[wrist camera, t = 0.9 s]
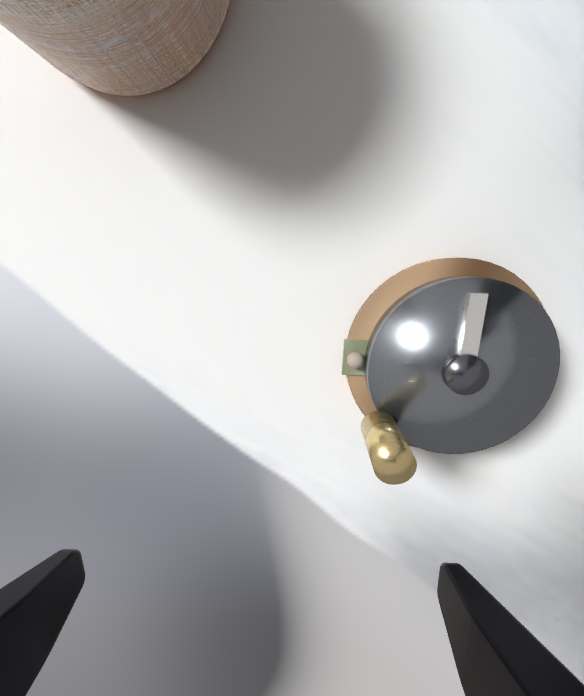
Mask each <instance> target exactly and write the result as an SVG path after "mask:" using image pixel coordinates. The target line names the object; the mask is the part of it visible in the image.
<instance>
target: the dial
mask: <svg viewBox="0 0 584 696" xmlns="http://www.w3.org/2000/svg"><path fill="white" fill-rule="evenodd" d="M559 365H560V349H559V341H558V337H557V333H556V330H555V328H554V325H553V323H552V321H551V319H550V317H549V316H548V314H547V313H546V311H545V310H544V308H543V307H542V306H541V305H540V304H539V303H538V302H537V301H536V300H535V299H534V298H533V297H531V296H530V295H529V294H528V293H526V292H525V291H523V290H521V289H519V288H518V287H516V286H514V285H511V284H508V283H506V282H503V281H499V280H495V279H490V278H480V277H468V276H456V277H446V278H440V279H437V280H433V281H430V282H427V283H425V284H422V285H420V286H418V287H416V288H414V289H412V290H410V291H409V292H407V293H405V294H404V295H403V296H401V297H400V298H399V299H398V300H396V301H395V302H394V303H393V304H392V305H391V306H390V307H389V308H388V309H387V310H386V311H385V313H384V314H383V315H382V316H381V318H380V319H379V321H378V322H377V324H376V326H375V327H374V329H373V331H372V333H371V336H370V338H369V341H368V344H367V347H366V352H365V359H364V374H365V381H366V385H367V389H368V392H369V394H370V396H371V399H372V401H373V403H374V405H375V407H376V410H377V411H373V412H371V413H369V414H367V415H366V416H365V417H364V419H363V420H362V423H361V431H362V434H363V437H364V440H365V444H366V447H367V450H368V453H369V456H370V460H371V463H372V466H373V469H374V472H375V474H376V476H377V477H378V478H379V479H380V480H381V481H383V482H385V483H387V484H401V483H404V482H406V481H408V480H409V479H410V478H411V477H412V476H413V475H414V473H415V471H416V468H417V462H416V459H415V457H414V455H413V453H412V451H411V450H410V448H409V446H408V444H407V442H408V443H410V444H412V445H414V446H416V447H419V448H422V449H425V450H428V451H432V452H437V453H445V454H463V453H471V452H476V451H480V450H484V449H487V448H490V447H493V446H495V445H498V444H500V443H502V442H504V441H506V440H508V439H509V438H511V437H512V436H514V435H516V434H517V433H518V432H520V431H521V430H522V429H524V428H525V427H526V426H527V425H528V424H529V423H530V422H531V421H532V420H533V419H534V418H535V417H536V416H537V415H538V413H539V412H540V411H541V410H542V408H543V407H544V405H545V404H546V402H547V400H548V399H549V397H550V395H551V393H552V390H553V388H554V386H555V382H556V379H557V376H558V371H559ZM406 441H407V442H406Z"/></svg>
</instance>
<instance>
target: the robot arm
mask: <svg viewBox="0 0 584 696" xmlns="http://www.w3.org/2000/svg"><path fill="white" fill-rule="evenodd" d="M84 581H85V571H84V566H83V561H82V557H81V553H80V551H79V550H76V549H63V550H60V551H58V552H57V553H55V554H53V555H52V556H50V557H49V558H47V559H46V560H44V561H43V562H41V563H40V564H38V565H37V566H35V567H33V568H32V569H30V570H29V571H27V572H26V573H24V574H23V575H21V576H20V577H18V578H16V579H15V580H13V581H12V582H10V583H9V584H7V585H6V586H4V587H3V588H1V589H0V696H26V694H27V692H28V690H29V689H30V687H31V685H32V684H33V682H34V680H35V679H36V677H37V675H38V673H39V672H40V670H41V668H42V666H43V664H44V663H45V661H46V659H47V657H48V655H49V653H50V651H51V650H52V648H53V646H54V643H55V642H56V640H57V638H58V635H59V633H60V631H61V629H62V627H63V625H64V623H65V621H66V619H67V617H68V615H69V613H70V611H71V609H72V607H73V605H74V603H75V601H76V599H77V597H78V595H79V593H80V590H81V589H82V587H83V584H84ZM437 592H438V599H439V603H440V607H441V611H442V615H443V618H444V622H445V626H446V629H447V633H448V637H449V641H450V644H451V648H452V651H453V655H454V659H455V662H456V666H457V670H458V673H459V677H460V680H461V684H462V687H463V690H464V693H465V696H584V684H583V683H582V682H581V681H579V680H578V679H577V678H576V677H575V676H574V675H573V674H572V673H571V672H570V671H569V670H568V669H567V668H566V667H565V666H564V665H563V664H562V663H561V662H560V661H559V660H558V659H557V658H556V657H555V656H554V655H553V654H552V653H551V652H550V651H549V650H548V649H547V648H546V647H545V646H544V645H543V644H542V643H541V642H540V641H539V640H537V639H536V638H535V637H534V636H533V635H532V634H531V633H530V632H529V631H528V630H527V629H526V628H525V627H524V626H523V625H522V624H521V623H520V622H519V621H518V620H517V619H516V618H515V617H514V616H513V615H512V614H511V613H510V612H509V611H508V610H507V609H506V608H505V607H504V606H503V605H502V604H501V603H500V602H499V601H498V600H497V599H495V598H494V597H493V596H492V595H491V594H490V593H489V592H488V591H487V590H486V589H485V588H484V587H483V586H482V585H481V584H480V583H479V582H478V581H477V580H476V579H475V578H474V577H473V576H472V575H471V574H470V573H469V572H468V571H467V570H466V569H465V568H464V567H463V566H461V565H460V564H458V563H442V564H441V566H440V572H439V580H438V589H437Z"/></svg>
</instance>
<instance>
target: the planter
mask: <svg viewBox="0 0 584 696" xmlns="http://www.w3.org/2000/svg"><path fill="white" fill-rule="evenodd" d="M229 3H230V0H0V24H1V25H3V26H4V27H5V28H6V29H8V30H9V31H10V32H11V33H13V34H14V35H15V36H16V37H18V38H19V39H20V40H21V41H23V42H24V43H25V44H26V45H27V46H29V47H30V48H31V49H32V50H34V51H35V52H36V53H37V54H39V55H40V56H41V57H43V58H44V59H45V60H46V61H48V62H49V63H50V64H51V65H53V66H54V67H55V68H57V69H58V70H59V71H61V72H62V73H64V74H65V75H67V76H69V77H70V78H72V79H74V80H76V81H78V82H79V83H81V84H83V85H85V86H87V87H90V88H92V89H94V90H97V91H100V92H104V93H107V94H113V95H121V96H137V95H144V94H149V93H153V92H156V91H159V90H162V89H164V88H167V87H169V86H170V85H172V84H174V83H176V82H177V81H179V80H180V79H182V78H183V77H184V76H186V75H187V74H188V73H189V72H190V71H192V70H193V69H194V68H195V67H196V66H197V65H198V63H199V62H200V61H201V60H202V59H203V57H204V56H205V55H206V54H207V52H208V51H209V49H210V48H211V46H212V45H213V43H214V41H215V39H216V38H217V36H218V34H219V32H220V29H221V27H222V25H223V22H224V19H225V17H226V14H227V10H228V7H229Z"/></svg>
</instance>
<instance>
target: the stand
mask: <svg viewBox="0 0 584 696" xmlns="http://www.w3.org/2000/svg"><path fill="white" fill-rule="evenodd" d="M456 276H468V277H480V278H490V279H495V280H499V281H503V282H506V283H508V284H511V285H514V286H516V287H518V288H519V289H521V290H523V291H525V292H526V293H528V294H529V295H530V296H531V297H533V298H534V299H535V300H536V301H537V302H538V303H539V304H540V305H541V306H542V304H541V302H540V301H539V299H538V298H537V296H536V295H535V293H534V292H533V291H532V290H531V289H530V287H529V286H528V285H527V284H526V283H525V282H524V281H522V280H521V279H520V278H519V277H517V276H516V275H515V274H513V273H512V272H510V271H508V270H506V269H505V268H503V267H500V266H498V265H495V264H493V263H490V262H486V261H482V260H478V259H469V258H446V259H437V260H431V261H426V262H423V263H420V264H416V265H414V266H411V267H409V268H407V269H405V270H402V271H401V272H399V273H397V274H396V275H394V276H392V277H391V278H389V279H388V280H387V281H385V282H384V283H383V284H382V285H380V286H379V287H378V288H377V289H376V290H375V291H374V292H373V293H372V294H371V295H370V296H369V298H368V299H367V300H366V301H365V303H364V304H363V305H362V307H361V308H360V310H359V312H358V314H357V315H356V317H355V319H354V321H353V324H352V326H351V328H350V332H349V335H348V339H344V351H343V365H342V375H347V379H348V383H349V386H350V389H351V392H352V395H353V397H354V399H355V401H356V403H357V405H358V407H359V408H360V410H361V412H362V413H363V414H364V415H365V416H366V415H367V414H369V413H371V412H373V411H377V410H376V407H375V405H374V403H373V401H372V399H371V396H370V394H369V392H368V389H367V385H366V381H365V374H364V359H365V352H366V347H367V344H368V341H369V338H370V336H371V333H372V331H373V329H374V327H375V326H376V324H377V322H378V321H379V319H380V318H381V316H382V315H383V314H384V313H385V311H386V310H387V309H388V308H389V307H390V306H391V305H392V304H393V303H394V302H395V301H396V300H398V299H399V298H400V297H401V296H403V295H404V294H405V293H407V292H409V291H410V290H412V289H414V288H416V287H418V286H420V285H422V284H425V283H427V282H430V281H433V280H437V279H440V278H446V277H456ZM542 307H543V306H542ZM406 442H407V441H406ZM407 444H408V445H410V446H414V445H412V444H410V443H408V442H407ZM414 447H416V446H414Z"/></svg>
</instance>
